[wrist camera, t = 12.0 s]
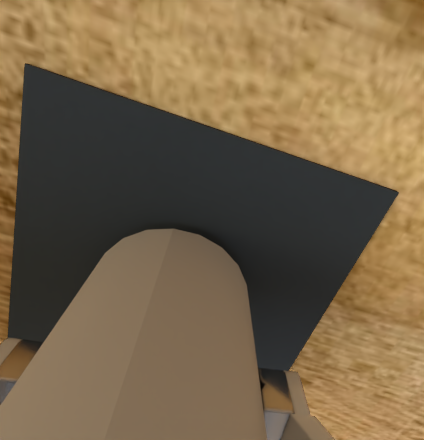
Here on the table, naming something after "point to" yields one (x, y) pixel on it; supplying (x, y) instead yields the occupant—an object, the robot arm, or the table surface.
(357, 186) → the mat
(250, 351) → the can
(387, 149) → the table surface
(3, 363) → the robot arm
